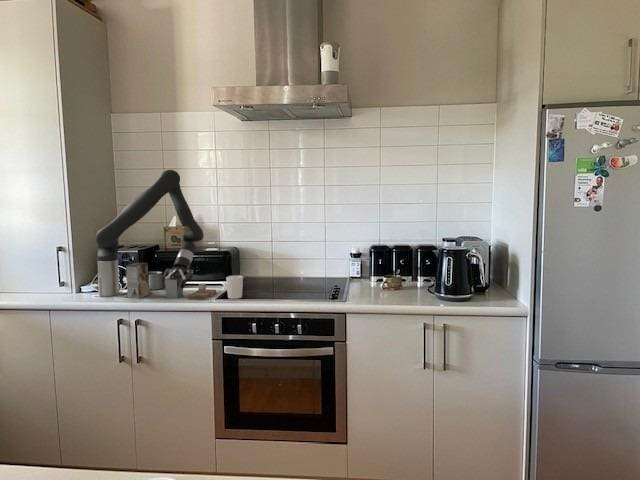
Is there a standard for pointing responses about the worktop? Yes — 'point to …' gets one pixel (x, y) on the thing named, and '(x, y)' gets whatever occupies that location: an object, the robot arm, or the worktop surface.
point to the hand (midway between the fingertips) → (173, 287)
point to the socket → (173, 287)
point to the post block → (202, 293)
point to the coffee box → (137, 280)
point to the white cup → (234, 286)
